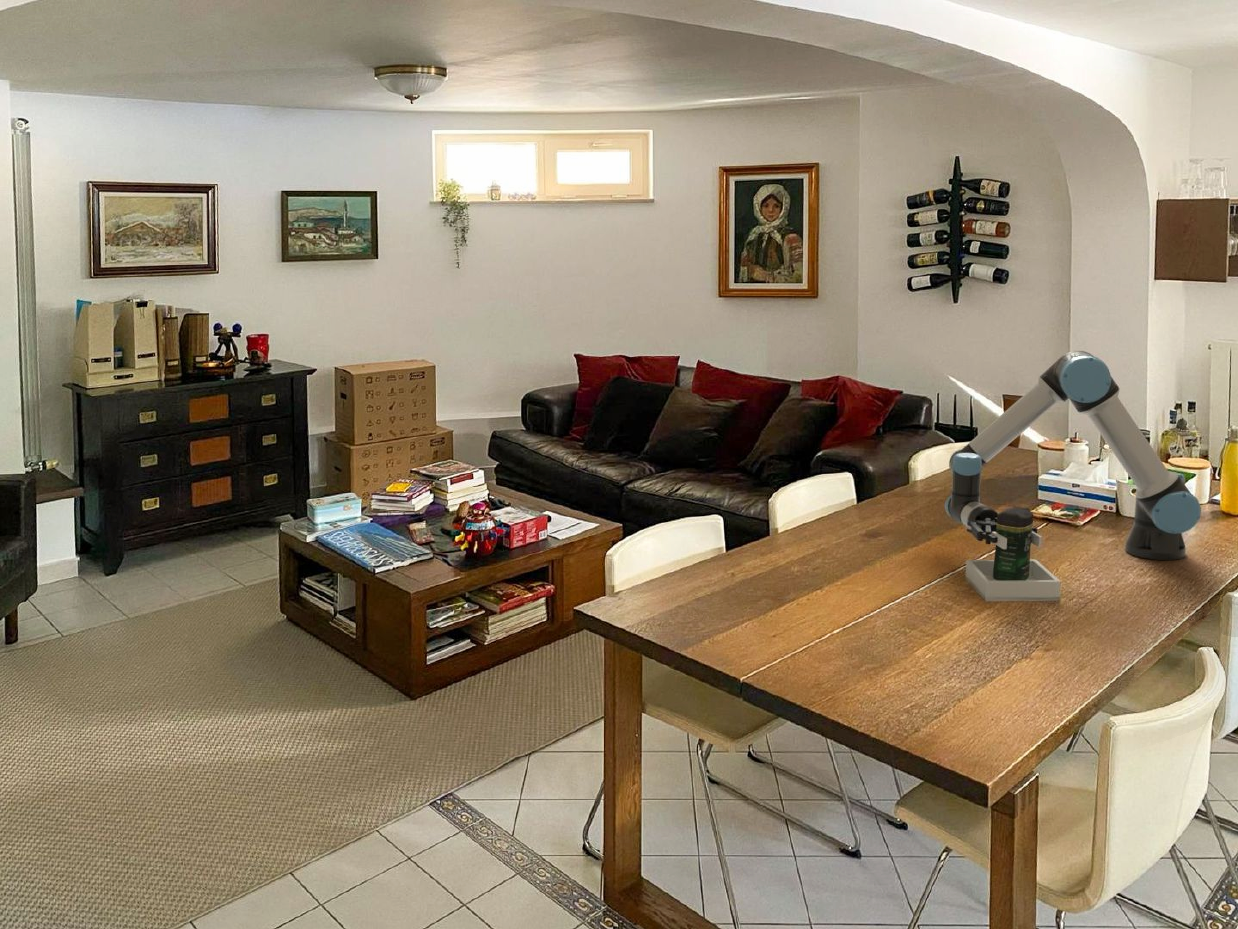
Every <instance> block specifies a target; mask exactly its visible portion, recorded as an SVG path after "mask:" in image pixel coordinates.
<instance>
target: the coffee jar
mask: <svg viewBox="0 0 1238 929" xmlns="http://www.w3.org/2000/svg"><path fill="white" fill-rule="evenodd" d="M997 513H998V515H997V523H996V526H997V533H998V534H1000V535H1002V536H1003V537H1005V538H1007V549H1002V548H1001V547H999V546H997V545H996V544H995V548H994V557H993V560H994V567H993V578H994V579H996V580H998V581H1024V580H1027V579H1028V577H1029V569H1030V559H1031V544H1032V543H1031V534H1032V527H1034V526H1033V525H1034V513H1033V512H1032V510H1031V509H1030V508H1028V507H1023V506H1016V505H1013V506H1012V507H1009V508H1006V509H1004V510H1002V511H999V512H997Z"/></svg>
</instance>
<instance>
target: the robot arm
mask: <svg viewBox="0 0 1238 929" xmlns="http://www.w3.org/2000/svg"><path fill="white" fill-rule="evenodd" d="M1119 392H1120V387H1119V386H1118V384H1117V382H1116V381H1115V380H1114V378H1113V377H1112V375H1111V372H1110V368H1109V367H1108V365H1107V364H1106V363H1105V362H1104V361H1103V360H1102V359H1100V358H1098V357H1097V356H1094V355H1093V354H1091V353H1089V352H1087V351H1083V350H1073V351H1069V352H1067V353H1065V354H1063V355H1061V356H1060V357H1059V358H1058V359H1056V360H1055V362H1054V363H1053V364H1051V366H1049V368H1047V369H1046V370H1045V371H1044V372H1043V373H1042V374H1041V375H1039V377H1038V382H1037V383H1036V384H1035V385H1034V386H1033V387H1031V389H1029V390H1028V391H1027V392H1026V393H1025V394H1024V395H1023V396H1021V397H1020V398H1018V400H1016V401H1015V402H1014V403H1013V404H1012V405H1011V406H1010V407H1008V408H1007V409H1006V410H1005V411H1004V412H1003V413H1002V414H1001V415H1000V416H998V417H997V418H996V419H995V420H994V421H992V422H991V423H990V424H989V425H988V426H987V427H986V428H985V429H983V430H982V431H980V432H979V434H977V435H976V436H975V437H974V438H973V439H972V440H970V442H968V444H966V445H965V446H964V447H962V448H960V449H957V450H956V451H954V452H953V453H952V454H951V456H950V458H949V462H948V468H949V470H950V472H951V494H950V495H949V496H948V497H947V499H946V501H945V503H944V509H945V512H946V514H947V515H948V517H950V518H951V519H952V520H953V521H955V522H957V523H960V524H962V525H963V526H964V527H966V532H968V533H970V534H972V536H973V537H974V538H975V539H976V540H977V541H978V542H983V540H985V544H986V545H991V543H992V544H994V545H995V546H996V545H997V546H999V547H1001V548H1002V549H1007V538H1005V537H1003V536H1002V535H1000V534H998V533H997V526H996V523H997V515H998V513H999V512H997V511H996V510H994V509H992V508H991V507H989V506H987V505H985V504H983V503H981V502H980V501H981V500H980V499H981V498H980V497H981V479H982V470H983V467H984V466H986V464H988V462H990V461H991V460H992V459H993V458H994V457H995V456H996V455H998V454H999V453H1000V452H1002V451H1003V450H1004V449H1005V448H1006V447H1007V446H1009V445H1010V444H1011V443H1012V442H1013V441H1014V440H1015V439H1017V438H1018V437H1020V435H1022V434H1023V433H1025V431H1026V430H1027V429H1029V428H1030V427H1031V426H1032V425H1034V423H1036V422H1037V421H1038V420H1039V419H1040V418H1041V417H1043V416H1044V415H1045V414H1046V413H1048V412H1049V411H1050V410H1051V409H1052V408H1053V407H1054V406H1056V405H1057V404H1061V403H1064V402H1066V401H1067V400H1069V401H1070V403H1071V404H1072V405H1073V407H1074V408H1075V409H1076V411H1077V412H1078V414H1083V415H1087V417H1088V418H1089V419H1090V420H1091V422H1092V424H1093V425H1094V426H1095V428H1096V429H1097V431H1098V433H1099V434H1100V435H1101V437H1102V439H1103V440H1104V441H1105V443H1106V445H1108V447H1109V449H1110V450H1111V452H1112V453H1113V455H1114V456H1115V457H1116V459H1117V461H1118V462H1119V463H1120V465H1121V466H1122V468H1123V469H1124V471H1125V472H1126V474H1127V475H1128V477H1129V478H1130V480H1131V481H1132V482H1133V483H1134V485H1135V487H1136V490H1135V492H1134V496H1135V506H1134V507H1135V508H1134V518H1133V519H1134V520H1133V524H1132V526H1131V529H1130V530H1129V534H1128V536H1127V538H1126V540H1125V544H1124V551H1125V552H1126V553H1128V554H1130V555H1132V556H1134V557H1138V558H1143V559H1149V560H1158V561H1176V560H1181V559H1183V558H1185V556H1186V549H1187V548H1186V543H1185V540H1184V537H1183V533H1186V532H1189V531H1190V530H1192V528H1194V527H1195V526H1196V525H1197V524H1198V523H1199V521H1200V519H1201V515H1202V506H1201V504H1200V501H1199V500H1198V498H1197V497H1196V496H1195V495H1194V494H1193V493H1191V491H1190V490H1189V489H1188V487H1187V486H1186V476H1185V475H1184V473H1183V474H1182V473H1178V472H1175V471H1170V470H1168V469H1167V467H1166V466H1165V464H1164V463H1163V461H1162V460H1161V459H1160V457H1159V456H1158V454H1157V452H1156V451H1155V450H1154V448H1153V447H1152V446H1151V443H1149V441H1148V440H1147V438H1146V436H1145V435H1144V434H1143V432H1142V431H1141V430H1140V427H1139V426H1138V425H1137V423H1136V422H1135V420H1134V418H1132V416H1131V414H1130V413H1129V411H1128V410H1127V408H1126V407H1125V406H1124V404H1123V403H1122V401H1121V400H1120V398H1119ZM1031 544H1032V545H1034V546H1035V547H1037V548H1042V547H1043V546H1042V544H1043V536H1042V535H1040V534H1038V527H1036V526H1033V527H1032V534H1031Z"/></svg>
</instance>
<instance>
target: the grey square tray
mask: <svg viewBox="0 0 1238 929" xmlns="http://www.w3.org/2000/svg"><path fill="white" fill-rule="evenodd" d="M993 567H994V559H966V560H965V575H964V576H965V580H966V581H967V582H968V584H969V585H970V586H971V587H972V588H973V589H974V590H975V591H976V592H977V594H978V595H979V596H980V595H981V596H980V597H981V598H982V600H984V601H985V602H1059V601H1061V600H1060V599H1061V598H1060V597H1061V583H1062V582H1061V580H1060V579H1059V578H1058V577H1057V576H1055V574H1053V572H1051V571H1049V570H1048V569H1047V568H1046V567H1045V565H1043V564H1042V563H1041V562H1039V561H1038V560H1037V559H1031V558H1030V569H1029V577H1028V579H1027V580H1024V581H998V580H996V579H994V578H993Z"/></svg>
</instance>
